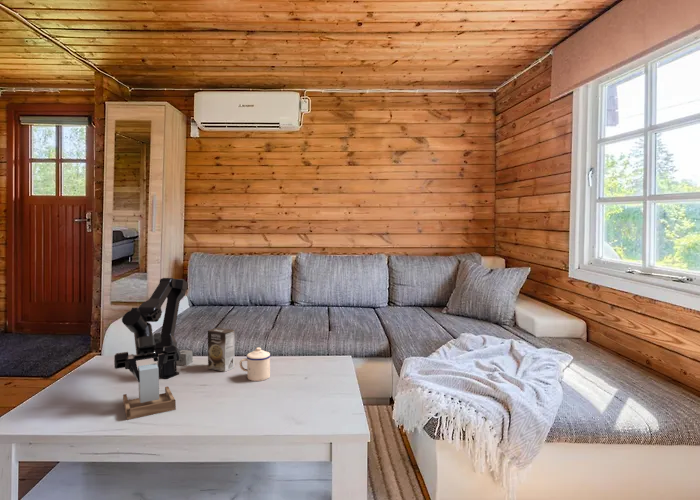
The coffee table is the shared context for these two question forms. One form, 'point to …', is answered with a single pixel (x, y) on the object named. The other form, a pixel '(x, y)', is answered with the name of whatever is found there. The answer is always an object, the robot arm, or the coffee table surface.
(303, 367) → the coffee table surface
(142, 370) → the tall block
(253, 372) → the teacup with lid
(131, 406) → the tray
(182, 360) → the dice cube
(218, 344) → the coffee box
